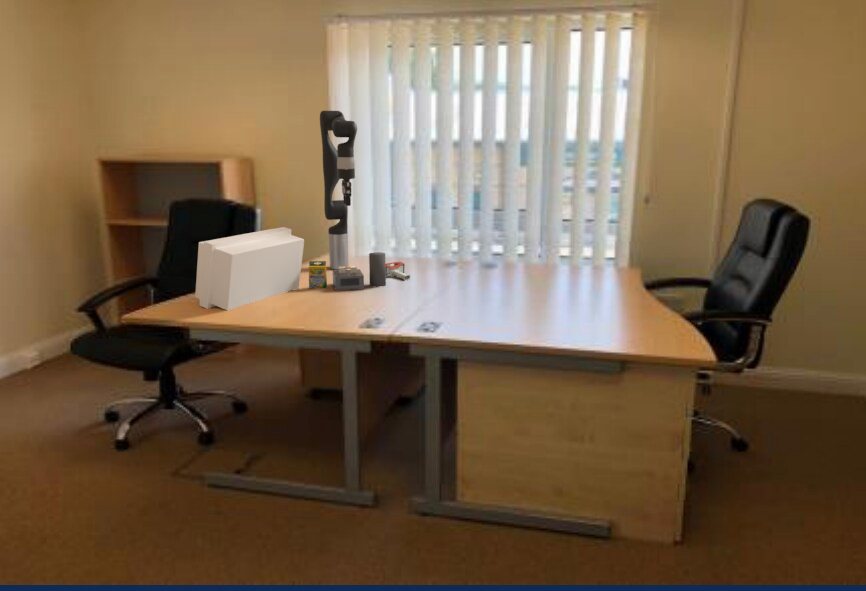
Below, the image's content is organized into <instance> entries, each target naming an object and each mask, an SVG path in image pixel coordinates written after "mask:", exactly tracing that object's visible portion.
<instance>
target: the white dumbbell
mask: <svg viewBox="0 0 866 591" xmlns="http://www.w3.org/2000/svg"><path fill="white" fill-rule="evenodd" d="M357 269H358V267H357V266H356V265H352V266H349V267H339V269H338V270H339V273H345V270H350V272H351V273H357Z"/></svg>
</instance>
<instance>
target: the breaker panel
mask: <svg viewBox="0 0 866 591" xmlns="http://www.w3.org/2000/svg"><path fill="white" fill-rule="evenodd" d="M364 279H365V277H364V273H363V272H362V271H361V269H359V268H357V273H351V272H350V269H345V273H339V269H332V285H333V284H334V285H333V287H334V286H335V287H334V289H336V290H342V291H352V290H351V289H361V290H365V280H364ZM336 290H335V291H336Z"/></svg>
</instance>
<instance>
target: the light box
mask: <svg viewBox="0 0 866 591" xmlns="http://www.w3.org/2000/svg"><path fill="white" fill-rule="evenodd" d="M304 245H305V239H304V238H302V237H298V236H296V235H293V234H292V228H289V227H286V226H285V227H284V226H282V227H281V226H280V227H276V228H269V229H264V230H258V231H254V232H249V233H242V234H237V235H231V236H227V237H226V236H225V237H221V238H220V237H219V238H215V239H210V240H204V241H203V240H202V241H199V242H198V250H197V263H196V264H197V265H196V282H195V296H194V297H195V298H196V299H199V306H200V307H203V309H207V310H208V308H209V309H211V307H212V308H215V307H218V308H220V309H223V310H226V311H230V310H229V309H231V310H234V309H237V308H236V307H238V308H240V307H239V306H241V307H243V306H242V305H244V306H246V305H245V304H247V305H250V304H249V303H251V304H253V303H252V302H254V303H256V302H255V301H257V302H259V301H258V300H260V301H262V300H261V299H264V298H267V297H270V296H273V297H275V296H274V295H277V294H280V293H283V292H286V293H288V292H287V291H290V290H293V291H295V290H294V289H296V290H298V289H297V288H300V280H301V272H302V264H303V263H302V262H303V256H304V255H303V254H304ZM290 292H291V291H290ZM283 294H284V293H283ZM280 295H281V294H280ZM277 296H278V295H277ZM270 298H271V297H270ZM267 299H268V298H267ZM264 300H265V299H264ZM233 308H234V309H233Z"/></svg>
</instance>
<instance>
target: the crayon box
mask: <svg viewBox="0 0 866 591" xmlns="http://www.w3.org/2000/svg"><path fill="white" fill-rule="evenodd" d="M308 262H309V263H308V264H309V266H308V286H309V288H326V287H327V288H328V279H327V261H324V260H313V261H312V260H310V261H308ZM317 263H318V264H317ZM309 288H308V289H309ZM327 288H326V289H327Z"/></svg>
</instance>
